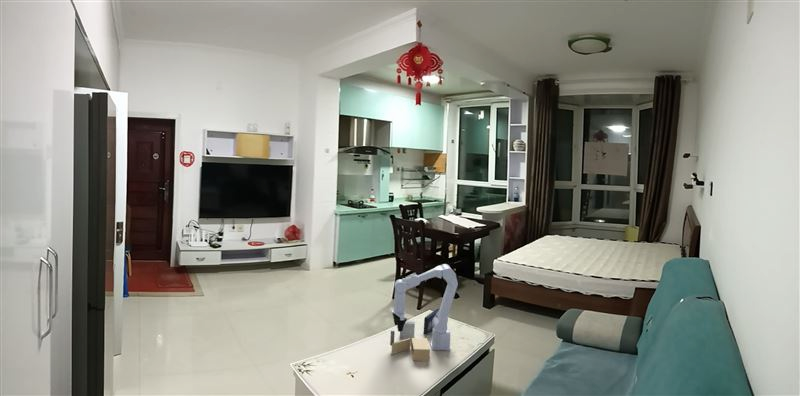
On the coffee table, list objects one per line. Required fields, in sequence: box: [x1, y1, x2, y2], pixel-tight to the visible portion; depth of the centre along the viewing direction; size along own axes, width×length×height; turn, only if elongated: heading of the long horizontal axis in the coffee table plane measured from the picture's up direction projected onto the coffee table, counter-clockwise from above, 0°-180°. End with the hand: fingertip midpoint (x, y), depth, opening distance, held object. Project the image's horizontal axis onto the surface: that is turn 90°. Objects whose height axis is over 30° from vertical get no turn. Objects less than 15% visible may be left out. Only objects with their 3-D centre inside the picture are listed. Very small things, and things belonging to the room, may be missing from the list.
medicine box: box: [399, 320, 416, 340], centre depth 222 cm, size 8×4×9 cm, turn 84°
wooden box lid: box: [389, 330, 412, 355], centre depth 206 cm, size 5×12×10 cm, turn 127°
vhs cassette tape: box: [423, 307, 440, 335], centre depth 233 cm, size 18×3×10 cm, turn 147°
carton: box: [410, 337, 431, 362], centre depth 202 cm, size 8×12×6 cm, turn 4°
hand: (398, 328), depth 209 cm, fingers open, 7 cm apart
